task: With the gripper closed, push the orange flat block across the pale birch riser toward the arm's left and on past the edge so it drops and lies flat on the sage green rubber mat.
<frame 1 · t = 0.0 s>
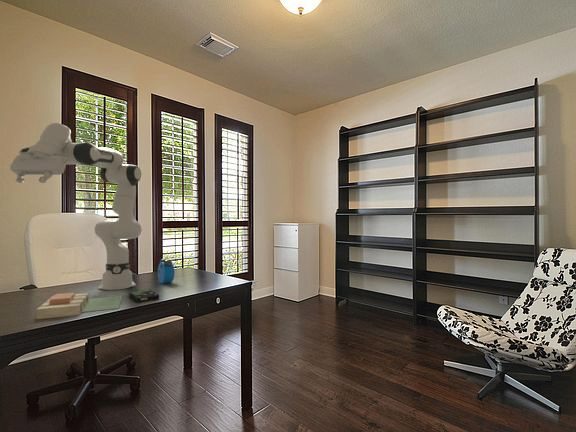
hand: (30, 181, 117), 54 cm above the table, tool tilted 30°, fingers open, 8 cm apart
orange flat block: (62, 300, 130), point 4 cm above the table, touching riser
mat: (103, 303, 139), on the table
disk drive: (143, 299, 151), on the table
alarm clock: (165, 283, 185), on the table
riser: (65, 309, 130), on the table
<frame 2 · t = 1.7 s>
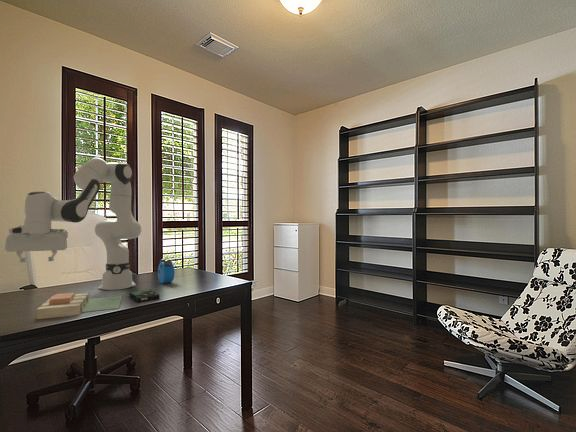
hand: (37, 261, 126), 22 cm above the table, tool pointing down, fingers open, 8 cm apart
nothing on the table moved.
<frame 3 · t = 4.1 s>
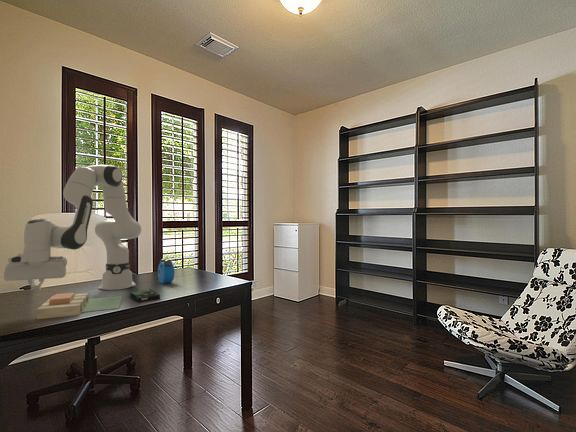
hand: (35, 289, 126), 10 cm above the table, tool pointing down, fingers closed
nothing on the table moved.
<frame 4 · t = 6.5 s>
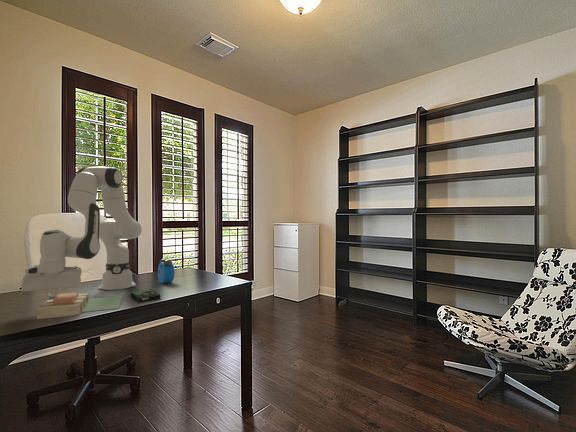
hand: (52, 299, 128), 5 cm above the table, tool pointing down, fingers closed
orange flat block: (66, 300, 130), point 4 cm above the table, touching gripper, riser
everything else where it was.
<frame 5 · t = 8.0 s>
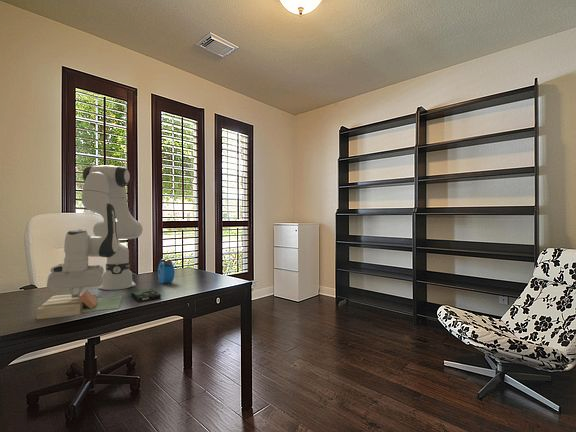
hand: (75, 297, 132), 5 cm above the table, tool pointing down, fingers closed
orange flat block: (86, 300, 134), point 3 cm above the table, tilted 49°, touching mat
everything else where it was.
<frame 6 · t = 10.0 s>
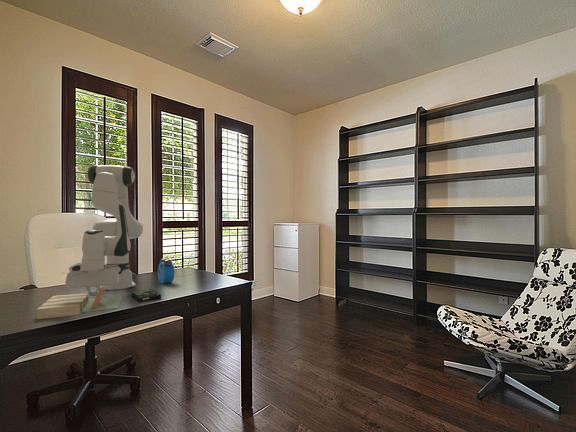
hand: (92, 295, 135), 5 cm above the table, tool pointing down, fingers closed
orange flat block: (96, 296, 135), point 4 cm above the table, tilted 110°, touching mat
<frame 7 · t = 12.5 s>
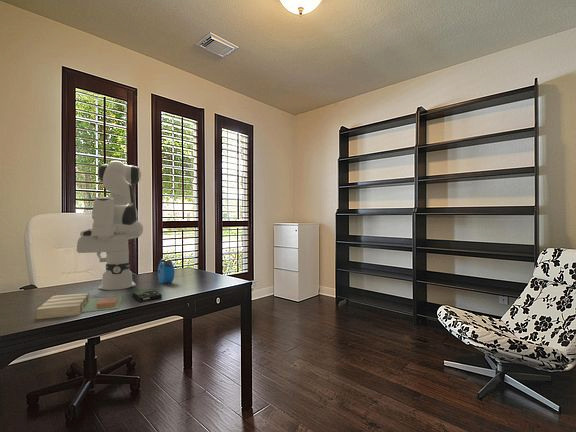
hand: (103, 261, 137), 20 cm above the table, tool pointing down, fingers closed
orange flat block: (107, 300, 137), point 2 cm above the table, tilted 180°, touching mat
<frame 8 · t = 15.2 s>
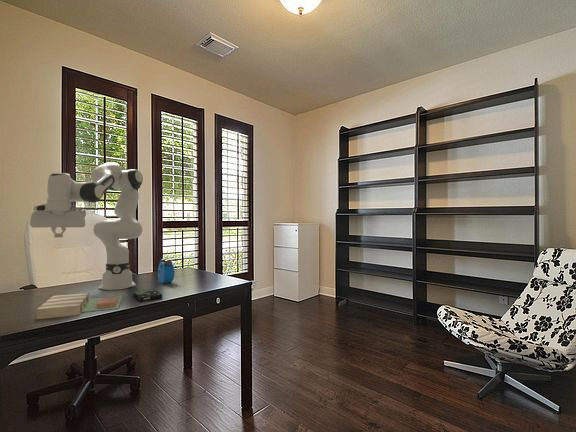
hand: (58, 237, 137), 31 cm above the table, tool pointing down, fingers closed
at the end: orange flat block inside the target area (3.6 cm from its centre), point 2.4 cm above the table; orange flat block touching mat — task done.
